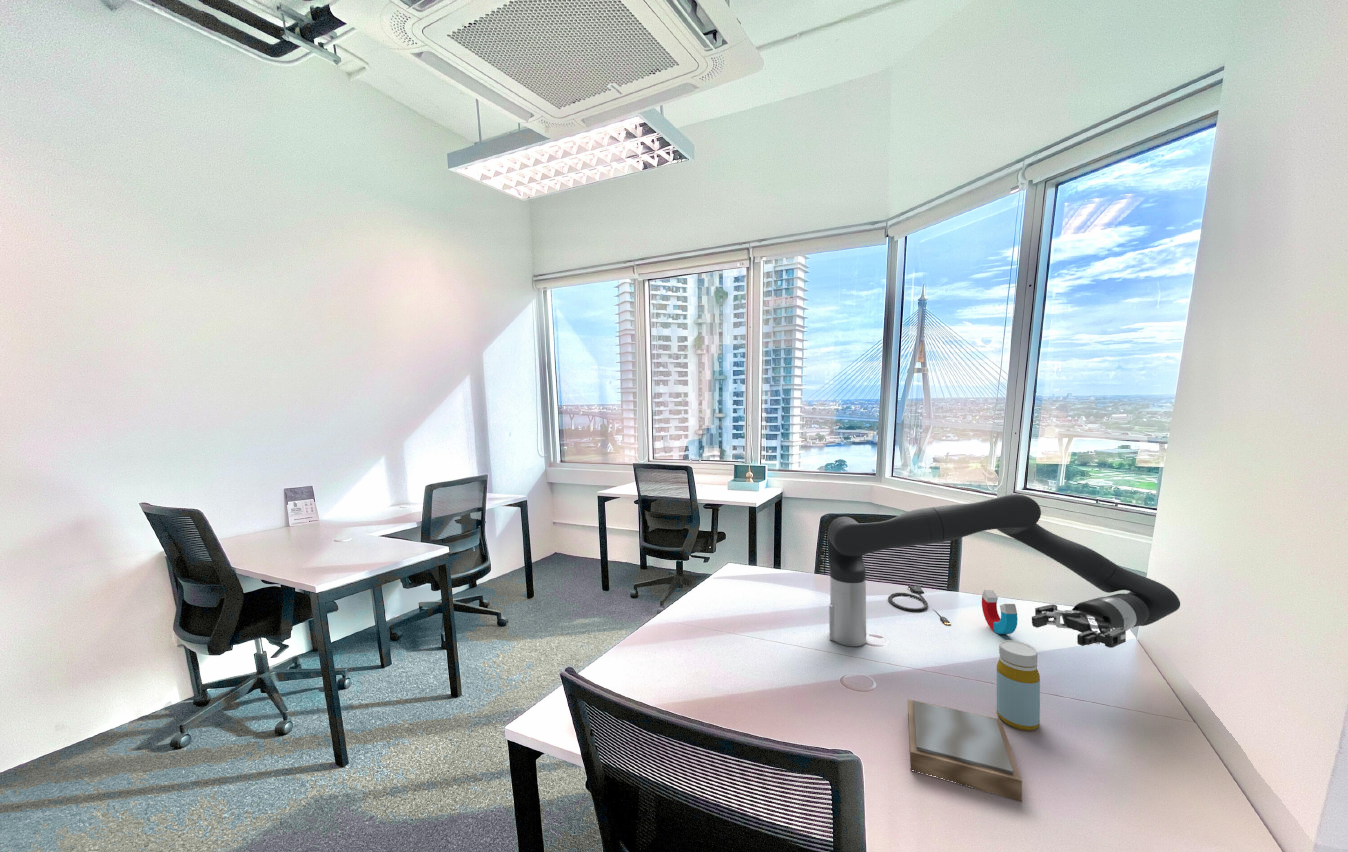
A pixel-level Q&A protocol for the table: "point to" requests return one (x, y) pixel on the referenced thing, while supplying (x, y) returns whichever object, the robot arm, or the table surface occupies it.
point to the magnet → (992, 618)
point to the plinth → (962, 749)
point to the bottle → (1018, 685)
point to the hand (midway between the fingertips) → (1055, 630)
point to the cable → (918, 591)
